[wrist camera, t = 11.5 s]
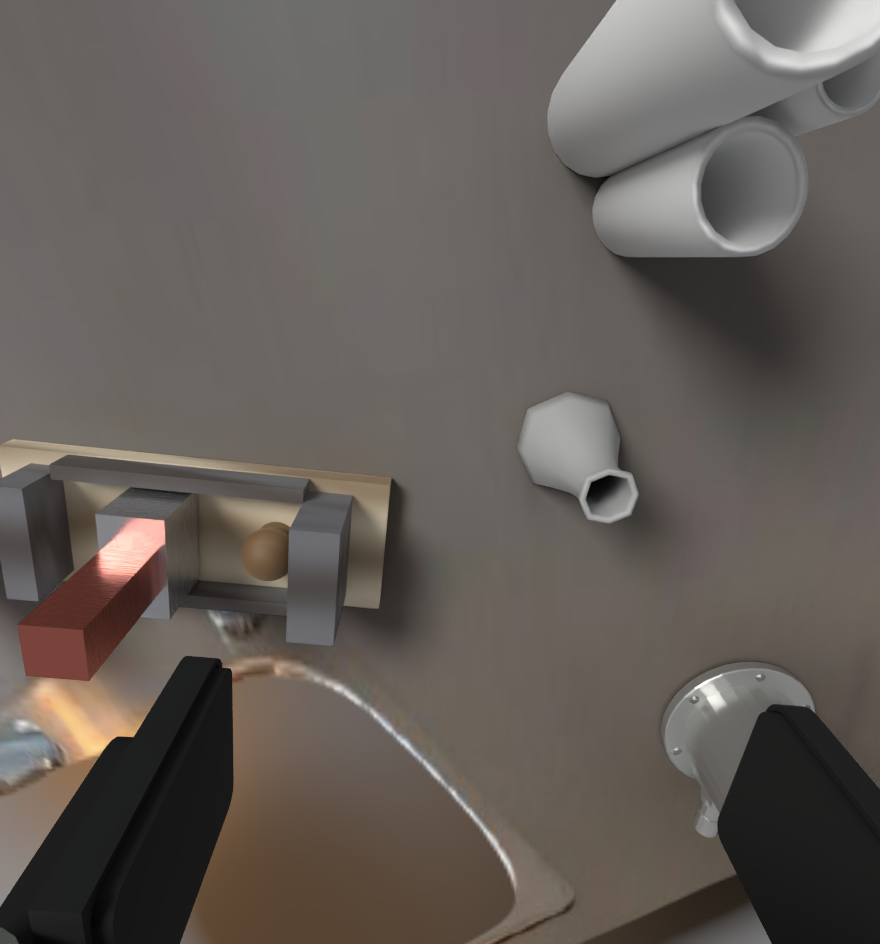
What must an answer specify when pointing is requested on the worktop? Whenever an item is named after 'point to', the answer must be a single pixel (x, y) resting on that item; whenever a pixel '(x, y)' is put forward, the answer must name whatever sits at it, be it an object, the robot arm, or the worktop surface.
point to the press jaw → (116, 584)
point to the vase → (709, 116)
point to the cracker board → (201, 528)
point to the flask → (578, 454)
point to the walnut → (267, 552)
